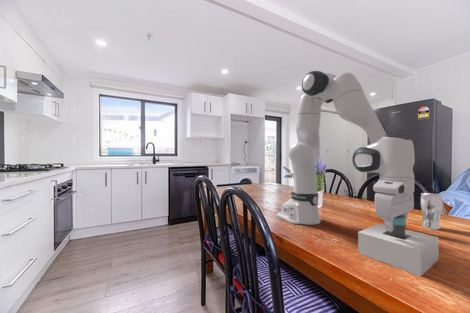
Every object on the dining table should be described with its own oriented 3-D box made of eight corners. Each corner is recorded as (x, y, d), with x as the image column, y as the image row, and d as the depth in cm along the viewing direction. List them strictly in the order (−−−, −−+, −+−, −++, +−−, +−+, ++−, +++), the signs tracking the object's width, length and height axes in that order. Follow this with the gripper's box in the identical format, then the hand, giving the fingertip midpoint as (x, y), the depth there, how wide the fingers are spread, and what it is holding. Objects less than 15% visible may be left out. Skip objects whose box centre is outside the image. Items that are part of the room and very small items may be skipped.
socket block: (358, 252, 68) (358, 232, 68) (379, 241, 77) (379, 223, 77) (420, 276, 55) (420, 250, 55) (438, 259, 63) (438, 237, 63)
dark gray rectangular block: (386, 252, 66) (386, 215, 66) (392, 248, 69) (391, 213, 69) (402, 257, 63) (402, 218, 63) (407, 253, 65) (407, 216, 65)
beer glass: (420, 227, 91) (420, 194, 91) (420, 223, 96) (420, 192, 96) (442, 231, 86) (442, 196, 86) (441, 227, 92) (441, 194, 91)
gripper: (397, 181, 74) (397, 219, 74) (370, 186, 63) (370, 231, 63) (420, 183, 69) (419, 224, 69) (395, 189, 58) (394, 238, 58)
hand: (395, 227), depth 66 cm, fingers open, 8 cm apart
